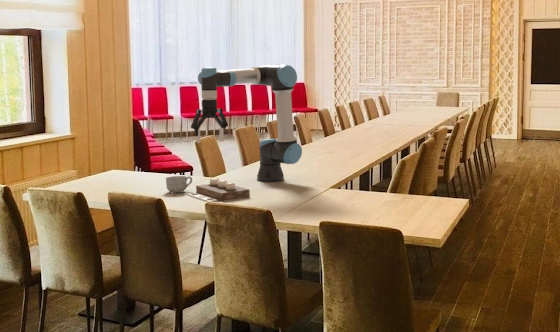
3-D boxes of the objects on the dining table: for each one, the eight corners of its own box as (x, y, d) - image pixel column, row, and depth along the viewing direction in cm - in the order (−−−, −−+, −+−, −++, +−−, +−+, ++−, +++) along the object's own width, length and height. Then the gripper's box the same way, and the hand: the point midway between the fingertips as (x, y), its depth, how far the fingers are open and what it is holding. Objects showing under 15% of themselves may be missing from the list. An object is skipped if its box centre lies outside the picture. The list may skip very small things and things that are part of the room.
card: (196, 194, 373) (196, 192, 373) (217, 200, 355) (217, 199, 355) (187, 195, 370) (187, 193, 370) (208, 202, 352) (208, 200, 352)
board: (223, 189, 384) (223, 182, 383) (249, 197, 363) (249, 189, 362) (196, 193, 375) (196, 185, 374) (221, 201, 354) (221, 193, 353)
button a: (216, 183, 378) (216, 177, 377) (220, 184, 374) (220, 179, 374) (208, 184, 375) (208, 178, 375) (212, 185, 371) (212, 180, 371)
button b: (224, 185, 371) (223, 180, 371) (228, 187, 367) (228, 181, 367) (216, 186, 369) (215, 180, 368) (220, 188, 365) (220, 182, 364)
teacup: (167, 194, 372) (166, 179, 371) (165, 190, 383) (164, 175, 382) (194, 192, 376) (194, 177, 375) (191, 189, 386) (191, 174, 385)
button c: (232, 188, 365) (231, 182, 364) (236, 189, 361) (236, 183, 360) (224, 189, 362) (223, 183, 362) (228, 190, 358) (228, 184, 358)
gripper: (226, 97, 371) (227, 139, 374) (183, 99, 356) (184, 142, 359) (234, 98, 365) (235, 140, 368) (191, 100, 350) (191, 144, 353)
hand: (210, 141), depth 363 cm, fingers open, 13 cm apart
